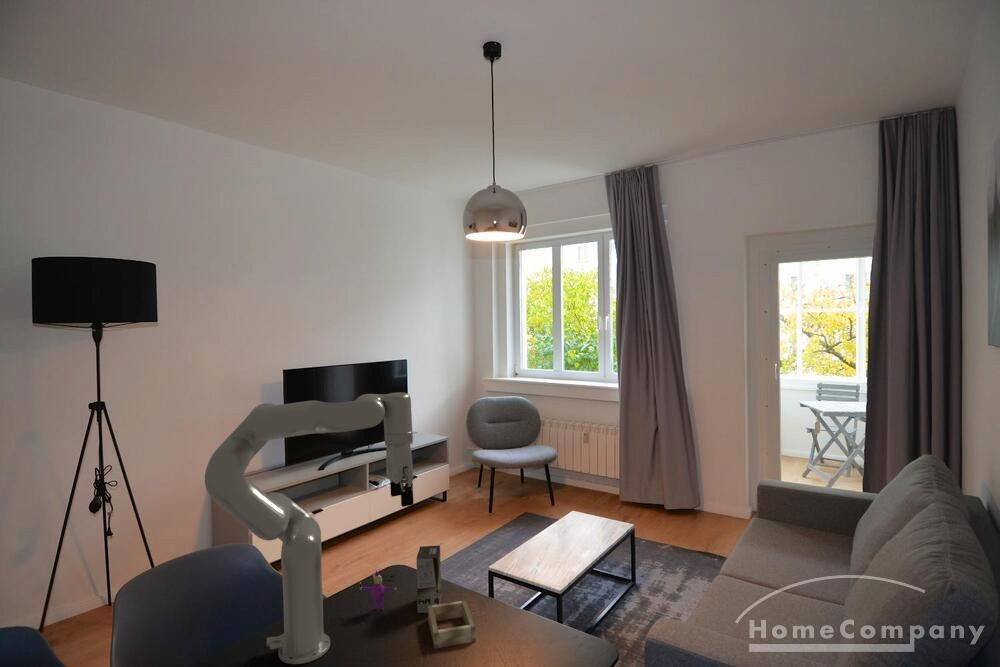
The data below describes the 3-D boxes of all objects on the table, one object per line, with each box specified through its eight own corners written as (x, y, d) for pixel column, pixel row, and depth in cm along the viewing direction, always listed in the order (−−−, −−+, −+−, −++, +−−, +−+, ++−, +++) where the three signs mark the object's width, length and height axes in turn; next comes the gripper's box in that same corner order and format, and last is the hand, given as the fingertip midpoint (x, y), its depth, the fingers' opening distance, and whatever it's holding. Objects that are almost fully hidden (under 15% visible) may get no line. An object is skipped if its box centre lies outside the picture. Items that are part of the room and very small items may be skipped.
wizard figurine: (398, 608, 159) (397, 568, 158) (395, 614, 155) (394, 573, 155) (361, 607, 159) (360, 567, 159) (357, 613, 156) (356, 572, 156)
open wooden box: (434, 648, 138) (434, 633, 138) (428, 619, 152) (427, 605, 152) (475, 641, 141) (475, 626, 141) (466, 613, 155) (465, 600, 155)
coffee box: (439, 612, 156) (437, 557, 155) (417, 613, 156) (415, 558, 155) (442, 596, 165) (440, 544, 164) (421, 597, 165) (419, 545, 164)
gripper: (376, 434, 152) (379, 494, 153) (394, 446, 137) (397, 512, 137) (402, 431, 156) (405, 489, 156) (422, 442, 140) (425, 506, 141)
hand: (401, 500), depth 147 cm, fingers open, 9 cm apart
